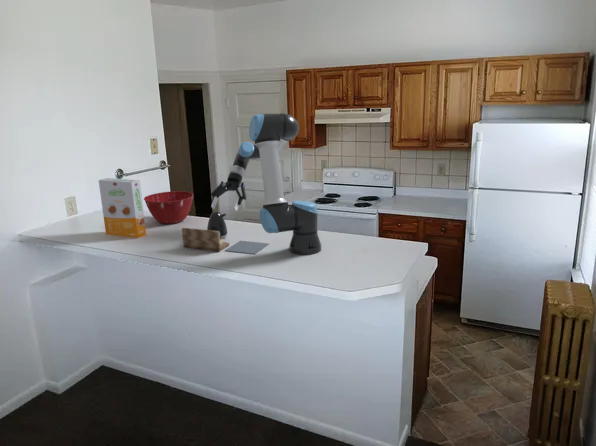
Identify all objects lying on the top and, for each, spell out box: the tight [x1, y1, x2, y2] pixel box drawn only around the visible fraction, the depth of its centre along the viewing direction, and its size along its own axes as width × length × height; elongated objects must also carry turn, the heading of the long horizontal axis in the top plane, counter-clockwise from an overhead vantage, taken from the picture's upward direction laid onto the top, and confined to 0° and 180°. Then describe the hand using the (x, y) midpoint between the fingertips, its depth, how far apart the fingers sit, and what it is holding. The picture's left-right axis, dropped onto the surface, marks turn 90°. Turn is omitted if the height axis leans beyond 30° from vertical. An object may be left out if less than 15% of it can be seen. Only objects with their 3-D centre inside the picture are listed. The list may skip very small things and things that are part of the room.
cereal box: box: [98, 177, 147, 239], centre depth 248 cm, size 22×6×30 cm, turn 66°
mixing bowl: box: [143, 190, 194, 225], centre depth 275 cm, size 28×28×15 cm
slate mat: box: [224, 240, 270, 255], centre depth 226 cm, size 16×16×1 cm
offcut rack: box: [181, 227, 230, 253], centre depth 227 cm, size 20×10×10 cm, turn 69°
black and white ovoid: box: [206, 211, 228, 240], centre depth 236 cm, size 10×10×15 cm
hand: (223, 209), depth 242 cm, fingers open, 13 cm apart
